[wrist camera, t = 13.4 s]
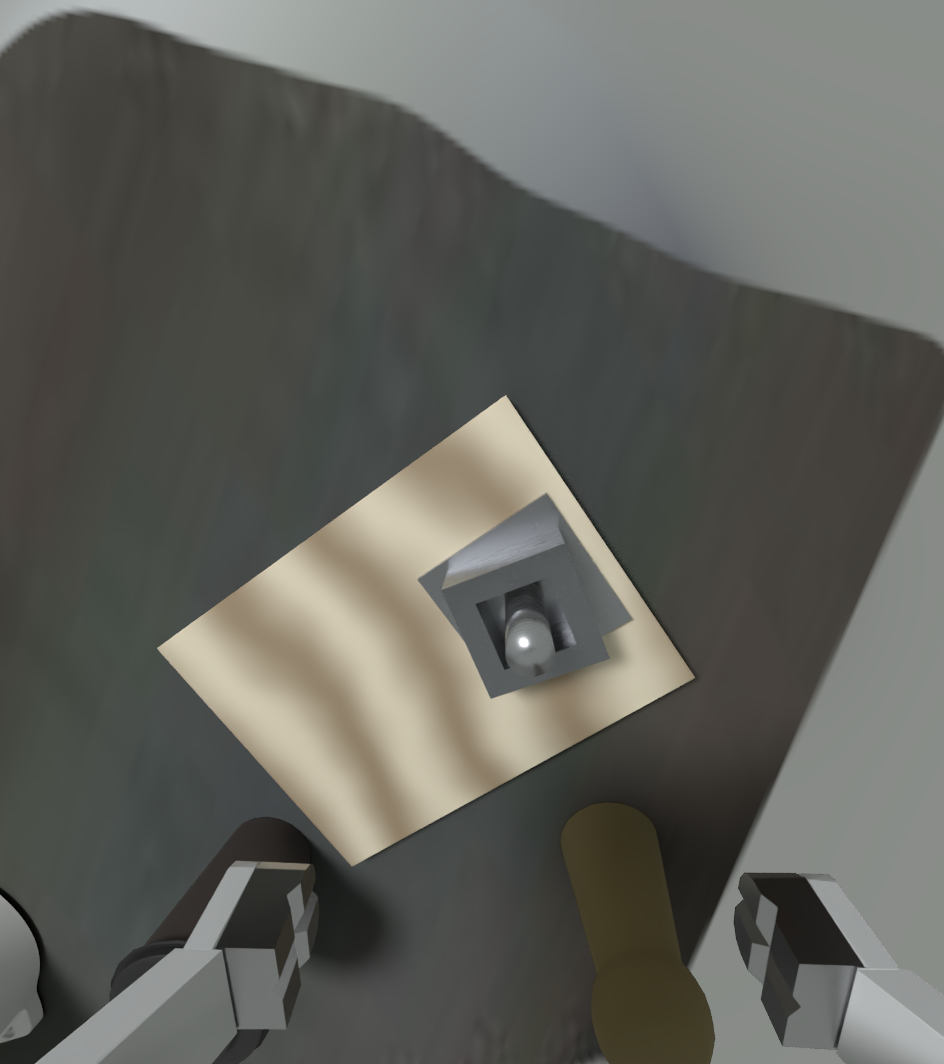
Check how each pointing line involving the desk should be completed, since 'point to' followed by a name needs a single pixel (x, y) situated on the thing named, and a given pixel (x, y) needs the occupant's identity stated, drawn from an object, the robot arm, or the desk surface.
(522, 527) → the post
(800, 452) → the desk surface
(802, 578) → the desk surface
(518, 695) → the board
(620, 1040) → the cork
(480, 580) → the link
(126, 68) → the desk surface
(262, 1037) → the coffee cup
